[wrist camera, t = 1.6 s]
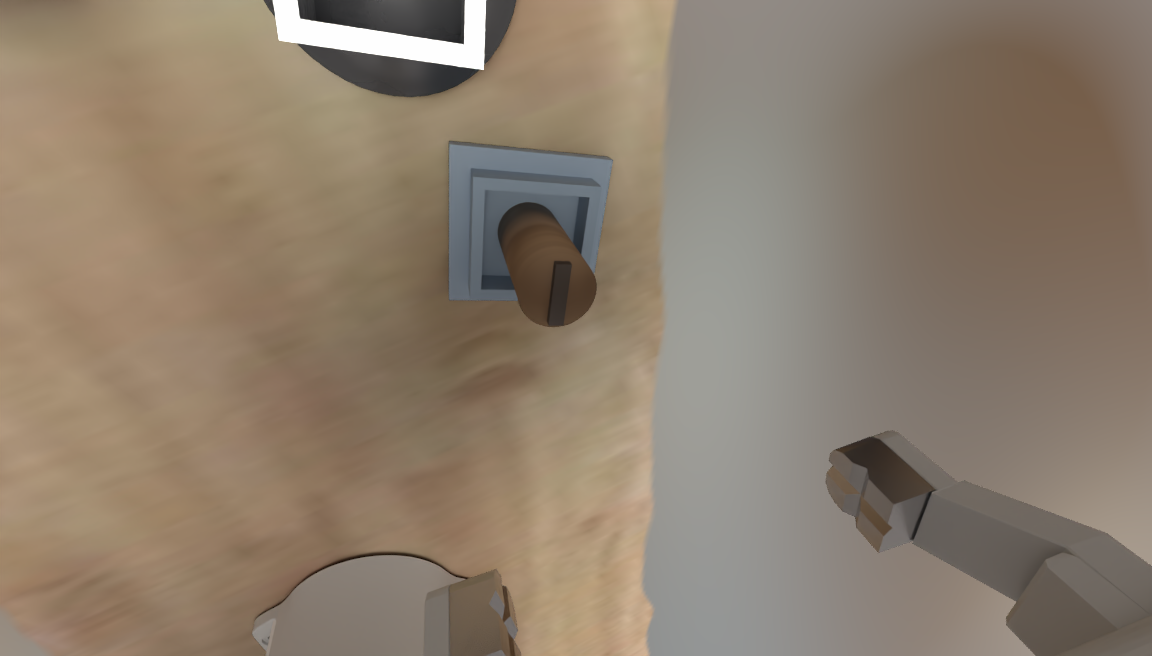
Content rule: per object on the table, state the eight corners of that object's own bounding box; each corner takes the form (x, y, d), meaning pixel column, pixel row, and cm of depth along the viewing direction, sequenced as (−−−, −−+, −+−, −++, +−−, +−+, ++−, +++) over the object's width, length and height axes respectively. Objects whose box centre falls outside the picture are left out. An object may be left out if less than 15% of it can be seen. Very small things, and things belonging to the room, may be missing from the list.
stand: (585, 294, 32) (598, 315, 29) (448, 293, 29) (450, 315, 27) (607, 156, 27) (624, 167, 25) (448, 140, 25) (450, 151, 22)
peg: (554, 261, 29) (592, 330, 22) (496, 260, 28) (516, 332, 21) (561, 204, 27) (605, 259, 20) (499, 199, 26) (522, 256, 19)
